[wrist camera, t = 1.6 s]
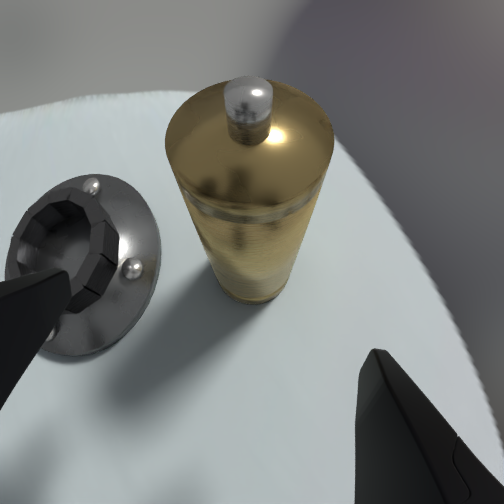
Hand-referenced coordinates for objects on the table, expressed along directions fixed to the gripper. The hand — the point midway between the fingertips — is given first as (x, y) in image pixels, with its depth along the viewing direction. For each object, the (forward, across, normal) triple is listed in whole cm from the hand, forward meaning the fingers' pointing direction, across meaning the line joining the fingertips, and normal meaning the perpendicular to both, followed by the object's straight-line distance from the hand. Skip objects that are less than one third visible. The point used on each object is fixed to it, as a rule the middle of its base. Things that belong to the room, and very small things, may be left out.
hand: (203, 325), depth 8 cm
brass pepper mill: (+12, 0, +4) cm, 13 cm away
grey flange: (+10, +13, +6) cm, 17 cm away
